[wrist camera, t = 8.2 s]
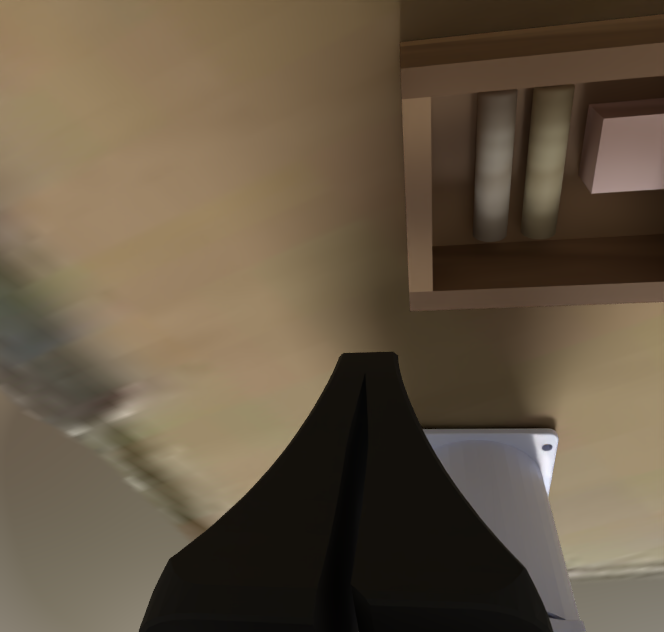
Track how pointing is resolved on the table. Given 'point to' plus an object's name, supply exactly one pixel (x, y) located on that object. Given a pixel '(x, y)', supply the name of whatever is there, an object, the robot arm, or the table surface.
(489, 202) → the pencil box
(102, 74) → the table surface
